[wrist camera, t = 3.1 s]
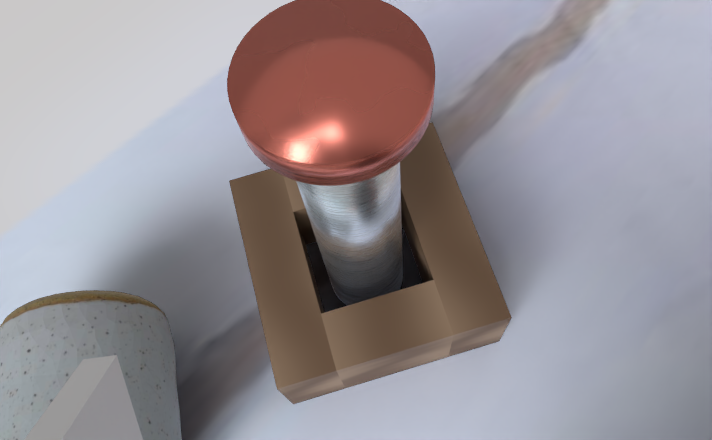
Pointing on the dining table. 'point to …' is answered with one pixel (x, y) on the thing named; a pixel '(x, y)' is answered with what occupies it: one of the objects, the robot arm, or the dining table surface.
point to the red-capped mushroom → (339, 124)
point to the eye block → (376, 315)
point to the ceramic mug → (87, 357)
